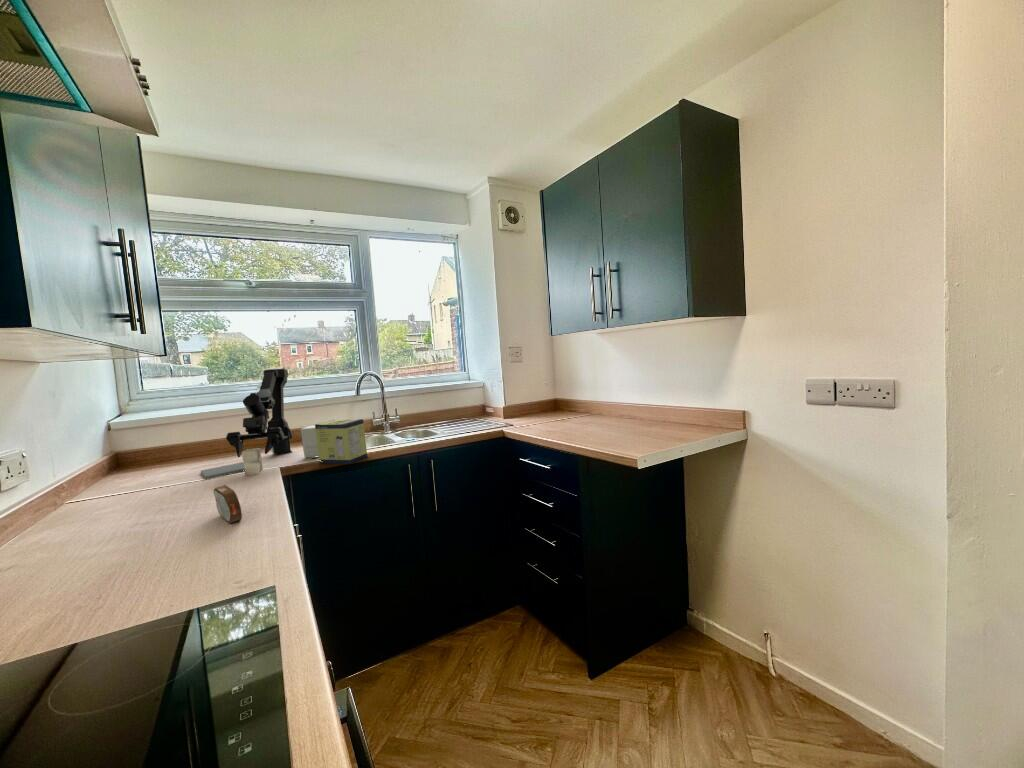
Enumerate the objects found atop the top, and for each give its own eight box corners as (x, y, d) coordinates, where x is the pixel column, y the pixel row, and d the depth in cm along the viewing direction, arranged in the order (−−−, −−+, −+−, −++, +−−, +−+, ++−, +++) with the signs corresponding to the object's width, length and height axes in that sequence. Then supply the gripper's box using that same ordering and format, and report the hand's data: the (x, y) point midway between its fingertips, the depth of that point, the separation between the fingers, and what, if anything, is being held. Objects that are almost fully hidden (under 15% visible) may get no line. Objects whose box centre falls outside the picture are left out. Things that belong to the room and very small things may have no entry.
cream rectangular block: (249, 472, 162) (246, 449, 161) (262, 470, 163) (259, 447, 162) (245, 475, 158) (242, 451, 157) (258, 474, 158) (255, 450, 158)
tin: (244, 523, 109) (239, 491, 108) (229, 527, 107) (225, 495, 106) (228, 511, 119) (224, 481, 119) (215, 515, 117) (210, 485, 116)
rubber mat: (242, 464, 177) (242, 462, 176) (249, 469, 166) (249, 467, 166) (201, 473, 167) (200, 470, 167) (205, 479, 157) (205, 476, 157)
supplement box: (329, 452, 186) (326, 424, 185) (320, 457, 179) (316, 427, 178) (313, 453, 187) (310, 425, 186) (303, 458, 179) (300, 428, 178)
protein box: (337, 456, 178) (333, 419, 177) (368, 456, 173) (364, 418, 171) (318, 463, 168) (313, 424, 167) (350, 464, 163) (345, 423, 162)
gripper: (224, 411, 162) (215, 446, 152) (278, 406, 166) (272, 439, 156) (235, 428, 170) (227, 462, 160) (286, 423, 174) (281, 456, 164)
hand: (252, 455), depth 160 cm, fingers open, 9 cm apart
